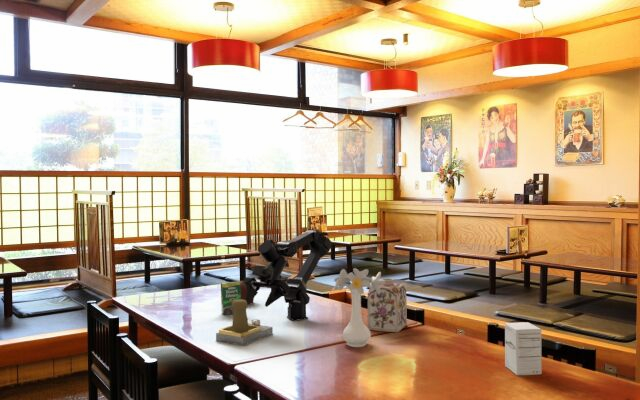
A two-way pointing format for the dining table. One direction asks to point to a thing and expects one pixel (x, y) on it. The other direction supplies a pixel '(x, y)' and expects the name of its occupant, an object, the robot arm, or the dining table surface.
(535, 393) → the dining table surface
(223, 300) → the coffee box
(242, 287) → the muffin
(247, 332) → the grey base with knob
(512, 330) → the supplement box
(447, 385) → the dining table surface
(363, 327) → the flower vase
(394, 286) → the decorative jar
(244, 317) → the cork
